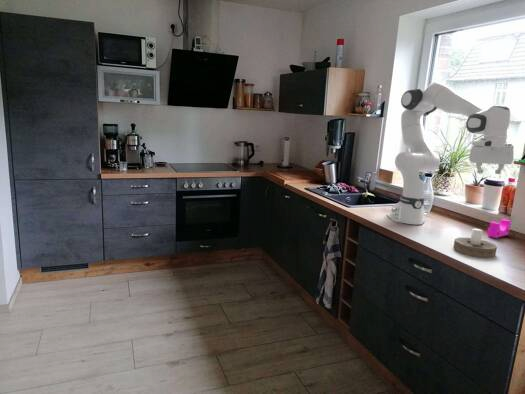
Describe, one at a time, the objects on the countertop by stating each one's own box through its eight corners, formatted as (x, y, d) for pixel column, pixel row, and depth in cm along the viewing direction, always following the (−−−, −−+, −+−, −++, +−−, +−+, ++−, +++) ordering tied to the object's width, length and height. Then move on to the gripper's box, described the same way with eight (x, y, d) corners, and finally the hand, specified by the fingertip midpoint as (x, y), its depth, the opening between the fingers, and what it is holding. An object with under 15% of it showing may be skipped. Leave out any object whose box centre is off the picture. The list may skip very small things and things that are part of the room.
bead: (446, 245, 180) (447, 237, 180) (476, 245, 184) (477, 237, 183) (470, 258, 165) (472, 249, 164) (503, 257, 168) (505, 248, 167)
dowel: (466, 250, 176) (470, 228, 174) (474, 250, 177) (478, 228, 175) (473, 253, 172) (476, 231, 170) (481, 253, 173) (484, 231, 171)
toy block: (496, 231, 213) (498, 217, 212) (508, 234, 208) (511, 220, 207) (483, 234, 205) (485, 220, 203) (495, 238, 200) (498, 223, 198)
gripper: (508, 143, 179) (502, 173, 182) (469, 141, 175) (464, 171, 178) (519, 144, 173) (513, 175, 176) (479, 142, 169) (474, 173, 172)
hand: (488, 173), depth 177 cm, fingers open, 8 cm apart
